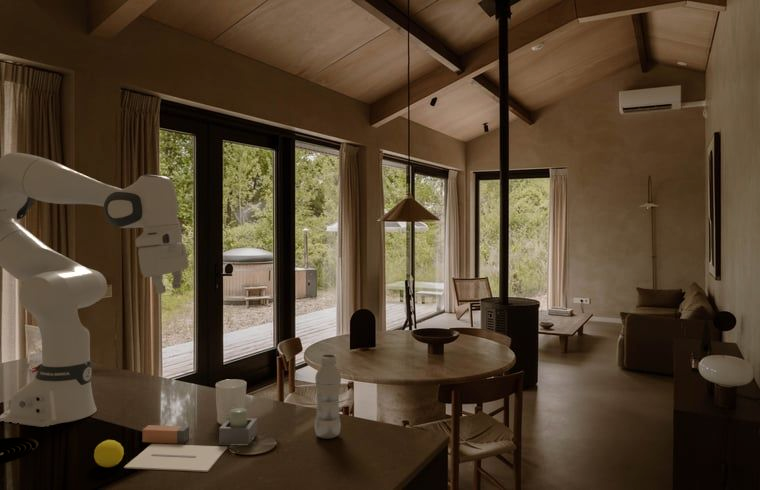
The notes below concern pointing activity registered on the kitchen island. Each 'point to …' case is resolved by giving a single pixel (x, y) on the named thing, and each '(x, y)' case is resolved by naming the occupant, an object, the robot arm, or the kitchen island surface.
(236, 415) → the button
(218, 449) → the paper
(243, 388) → the white cup
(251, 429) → the button housing
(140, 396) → the kitchen island surface
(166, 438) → the block
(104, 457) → the lemon
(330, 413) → the plastic bottle
